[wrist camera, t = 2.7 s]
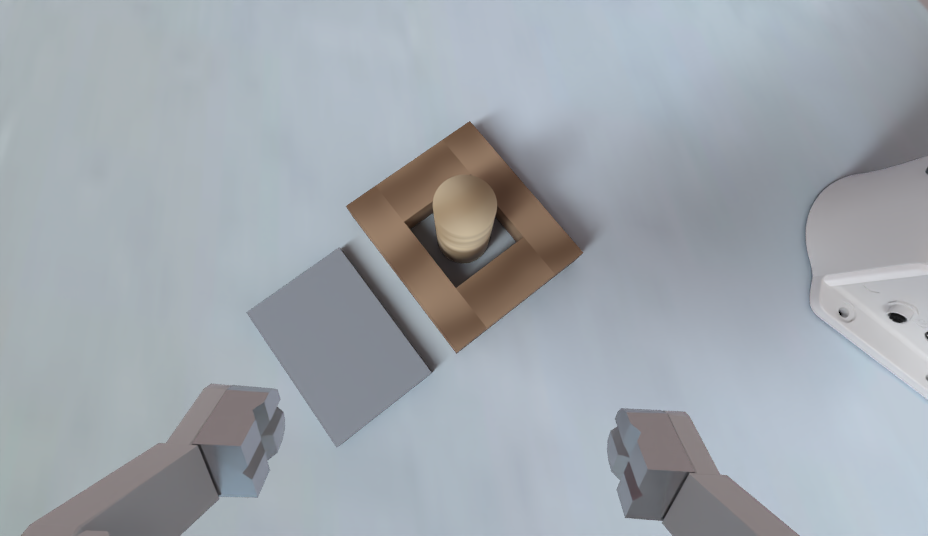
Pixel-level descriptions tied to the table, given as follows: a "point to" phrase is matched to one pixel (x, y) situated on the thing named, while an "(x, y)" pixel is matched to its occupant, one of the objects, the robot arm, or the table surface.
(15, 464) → the table surface
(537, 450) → the table surface
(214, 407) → the robot arm
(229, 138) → the table surface
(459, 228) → the tan domed cylinder
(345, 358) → the slate mat
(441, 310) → the well board
